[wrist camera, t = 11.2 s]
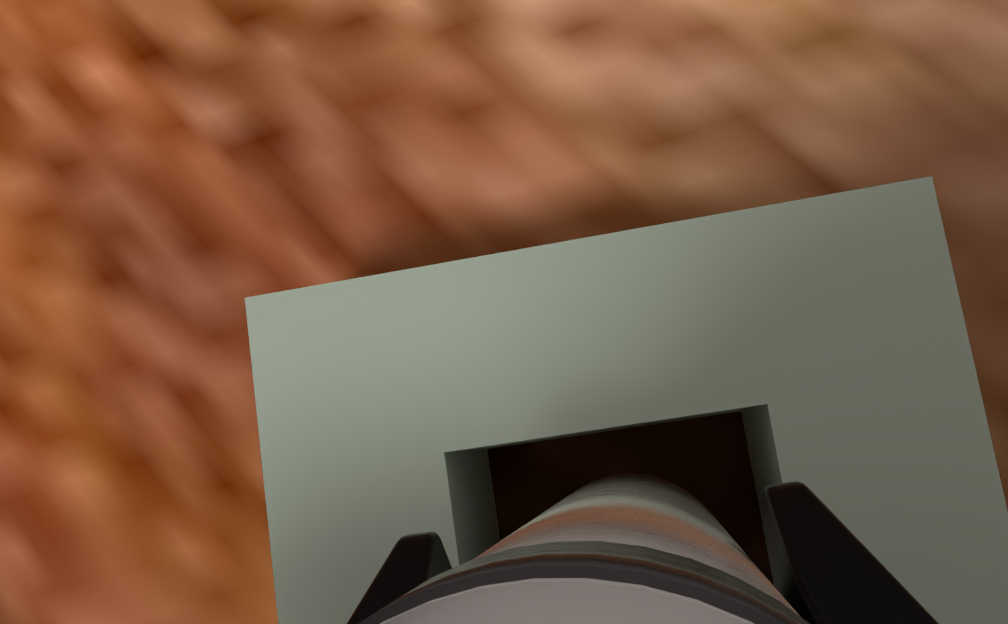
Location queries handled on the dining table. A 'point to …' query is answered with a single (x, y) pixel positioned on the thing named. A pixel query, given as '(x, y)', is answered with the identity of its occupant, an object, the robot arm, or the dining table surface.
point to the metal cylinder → (604, 568)
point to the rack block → (638, 388)
